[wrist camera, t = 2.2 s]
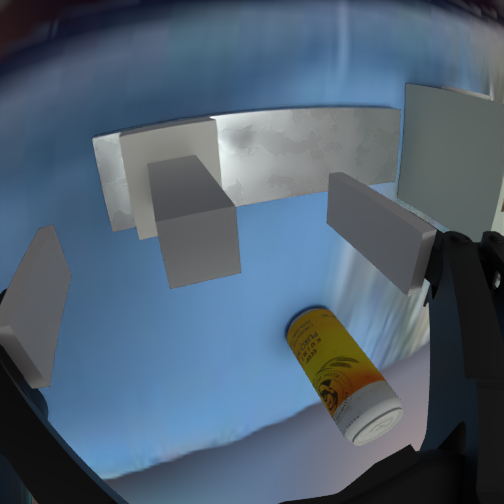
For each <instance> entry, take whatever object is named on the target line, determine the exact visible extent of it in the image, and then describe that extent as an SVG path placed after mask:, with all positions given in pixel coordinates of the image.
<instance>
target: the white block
mask: <svg viewBox="0 0 504 504" xmlns="http://www.w3.org/2000/svg"><path fill="white" fill-rule="evenodd" d="M397 198H399V199H401V200H402V201H404V202H406V203H407V204H409V205H411V206H413V207H414V208H416V209H418V210H419V211H421V212H423V213H424V214H426V215H427V216H429V217H431V218H432V219H434V220H436V221H437V222H439V223H440V224H442V225H443V226H445V227H447V228H448V229H450V230H451V231H456V232H459V233H462V234H464V235H466V236H468V237H469V238H470V239H471V240H472V241H473V242H481V238H482V235H483V232H485V231H496V232H498V233H500V234H501V235H503V236H504V206H503V201H504V104H502V103H499V102H495V101H491V96H488V95H484V94H480V93H476V92H472V91H468V90H463V89H458V88H454V87H449V86H443V85H442V87H441V89H439V88H433V87H427V86H421V85H414V84H407V83H406V89H405V117H404V133H403V147H402V158H401V169H400V178H399V187H398V195H397Z"/></svg>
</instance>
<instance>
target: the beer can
mask: <svg viewBox="0 0 504 504" xmlns="http://www.w3.org/2000/svg"><path fill="white" fill-rule="evenodd" d="M287 342H288V345H289V346H290V348H291V350H292V351H293V353H294V355H295V356H296V358H297V360H298V361H299V363H300V365H301V366H302V368H303V370H304V372H305V373H306V375H307V377H308V378H309V380H310V382H311V383H312V385H313V387H314V388H315V390H316V392H317V393H318V395H319V397H320V398H321V400H322V402H323V403H324V405H325V407H326V408H327V410H328V412H329V413H330V415H331V417H332V418H333V420H334V421H335V423H336V425H337V426H338V428H339V430H340V431H341V433H342V435H343V436H344V438H345V439H347V440H349V441H350V442H352V443H353V444H354V445H355V446H359V445H364V444H366V443H369V442H371V441H373V440H375V439H376V438H378V437H380V436H381V435H383V434H384V433H386V432H387V431H388V430H390V429H391V428H392V427H393V426H394V425H395V424H396V423H397V422H398V421H399V420H400V418H401V417H402V415H403V413H404V411H403V410H402V406H401V399H400V398H399V397H398V396H397V394H396V393H395V392H394V390H393V389H392V388H391V386H390V385H389V384H388V383H387V381H386V380H385V379H384V377H383V376H382V375H381V373H380V372H379V371H378V370H377V368H376V367H375V366H374V364H373V363H372V362H371V361H370V359H369V358H368V357H367V356H366V354H365V353H364V352H363V350H362V349H361V348H360V347H359V345H358V344H357V343H356V342H355V340H354V339H353V338H352V337H351V335H350V334H349V333H348V332H347V330H346V329H345V328H344V326H343V325H342V324H341V323H340V321H339V320H338V319H337V318H336V316H335V315H334V314H333V313H332V312H331V311H329V310H327V309H319V308H314V309H309V310H307V311H305V312H303V313H301V314H300V315H298V316H297V317H296V318H295V319H294V320H293V322H292V323H291V325H290V327H289V331H288V334H287Z"/></svg>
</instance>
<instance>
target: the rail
mask: <svg viewBox="0 0 504 504" xmlns="http://www.w3.org/2000/svg"><path fill="white" fill-rule="evenodd" d="M206 117H211V118H213V119H215V120H216V122H217V134H218V145H219V157H220V168H221V179H222V189H223V190H224V192H225V193H226V194H227V195H228V197H229V198H230V199H231V201H232V202H233V203H234V204H235V206H236V207H237V206H243V205H248V204H254V203H259V202H265V201H271V200H276V199H282V198H288V197H294V196H300V195H306V194H313V193H319V192H325V191H328V185H329V173H335V172H343V173H345V174H347V175H349V176H351V177H352V178H354V179H356V180H358V181H359V182H361V183H363V184H365V185H373V184H381V183H388V182H395V180H396V171H397V160H398V149H399V135H400V118H401V109H397V108H392V107H378V106H302V107H281V108H266V109H253V110H242V111H232V112H223V113H215V114H207V115H199V116H192V117H185V118H179V119H173V120H167V121H161V122H155V123H150V124H145V125H140V126H135V127H130V128H125V129H120V130H116V131H111V132H107V133H103V134H99V135H95V136H94V137H93V138H92V140H93V146H94V151H95V157H96V162H97V167H98V172H99V176H100V181H101V186H102V190H103V194H104V199H105V203H106V207H107V211H108V215H109V219H110V223H111V227H112V231H113V232H116V231H121V230H125V229H129V228H134V227H136V223H135V219H134V214H133V210H132V205H131V201H130V196H129V191H128V186H127V181H126V176H125V170H124V165H123V159H122V154H121V148H120V142H119V135H120V133H121V132H125V131H130V130H135V129H139V128H145V127H150V126H155V125H161V124H166V123H172V122H179V121H185V120H192V119H199V118H206Z"/></svg>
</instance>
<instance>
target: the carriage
mask: <svg viewBox="0 0 504 504" xmlns="http://www.w3.org/2000/svg"><path fill="white" fill-rule="evenodd" d="M119 142H120V148H121V154H122V159H123V165H124V170H125V176H126V181H127V186H128V191H129V196H130V201H131V205H132V210H133V214H134V219H135V223H136V228H137V232H138V236H139V240H142V239H146V238H151V237H155V236H158V238H159V242H160V247H161V252H162V256H163V261H164V265H165V269H166V274H167V278H168V282H169V286H170V289H173V288H177V287H182V286H186V285H191V284H195V283H199V282H204V281H208V280H213V279H217V278H221V277H225V276H230V275H234V274H238V273H241V264H240V252H239V240H238V228H237V216H236V206H235V204H234V203H233V202H232V201H231V199H230V198H229V197H228V195H227V194H226V193H225V192H224V190H223V189H222V179H221V168H220V157H219V145H218V134H217V122H216V120H215V119H213V118H211V117H206V118H199V119H192V120H185V121H179V122H172V123H166V124H161V125H155V126H150V127H145V128H139V129H135V130H130V131H125V132H121V133H120V135H119Z"/></svg>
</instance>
